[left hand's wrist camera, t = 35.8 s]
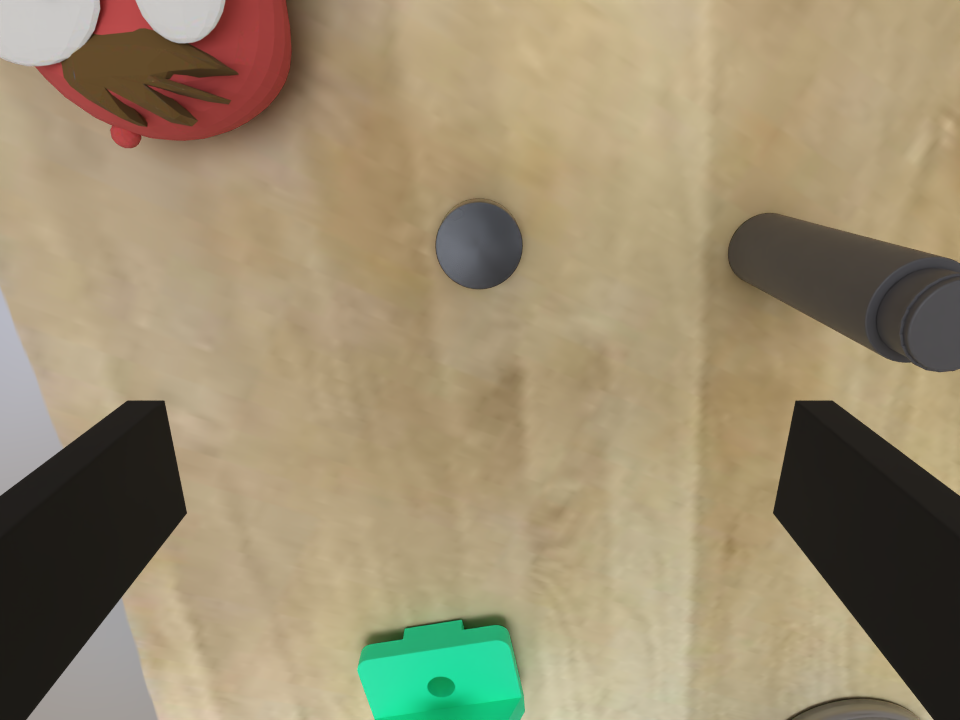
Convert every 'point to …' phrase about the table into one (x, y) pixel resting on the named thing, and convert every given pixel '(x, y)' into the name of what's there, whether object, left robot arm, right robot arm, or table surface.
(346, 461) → the table surface
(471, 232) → the lid
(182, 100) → the toy
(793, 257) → the dark grey cylinder
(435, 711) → the camera mount
